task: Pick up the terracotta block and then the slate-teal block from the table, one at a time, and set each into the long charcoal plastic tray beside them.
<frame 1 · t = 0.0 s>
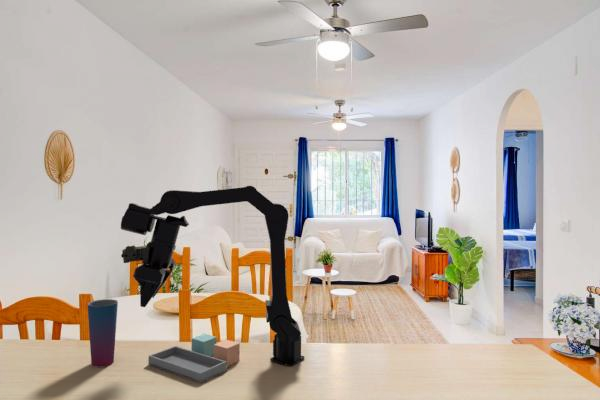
hand: (147, 301, 108), 15 cm above the table, tool pointing down, fingers open, 9 cm apart
teal block: (204, 354, 115), on the table
tray: (187, 367, 106), on the table
terracotta block: (226, 361, 111), on the table
cup: (102, 363, 108), on the table
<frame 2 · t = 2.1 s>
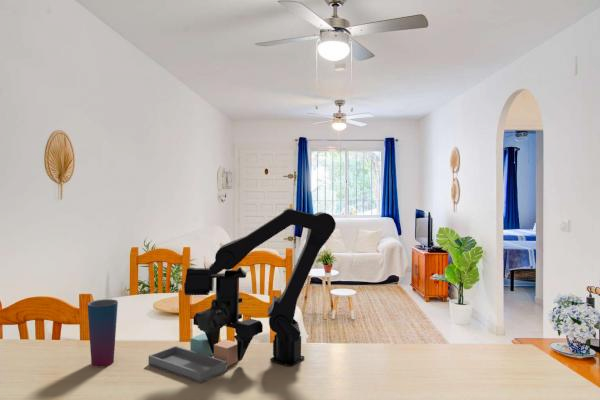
hand: (226, 356, 111), 1 cm above the table, tool pointing down, fingers open, 8 cm apart
nothing on the table moved.
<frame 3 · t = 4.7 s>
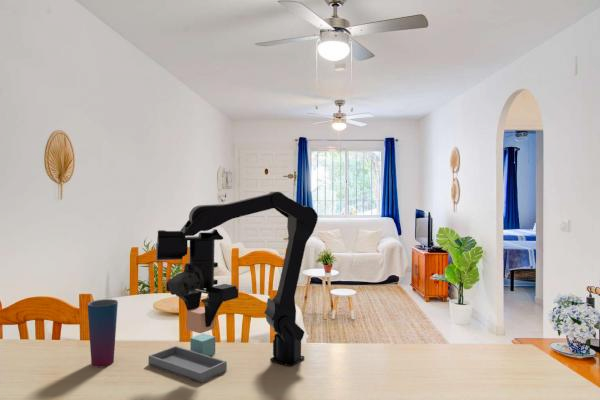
hand: (200, 324, 104), 11 cm above the table, tool pointing down, fingers closed on terracotta block, 4 cm apart
terracotta block: (200, 329, 104), point 10 cm above the table, touching gripper
everything else where it was.
when the fingers open (3 cm above the table, at t = 6.5 s): terracotta block drops 1 cm, resting on tray.
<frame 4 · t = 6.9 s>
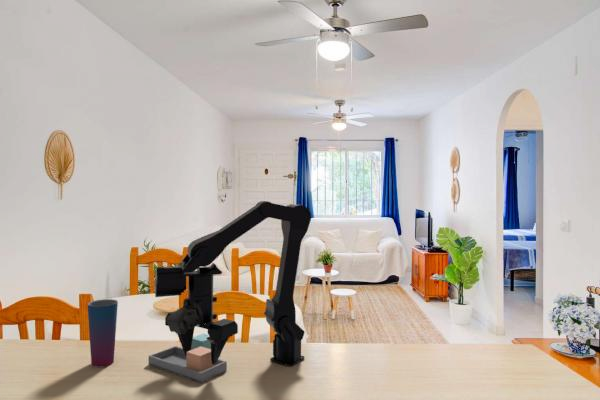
hand: (200, 359, 104), 3 cm above the table, tool pointing down, fingers open, 9 cm apart
terracotta block: (200, 370, 104), resting on tray
everything else where it was.
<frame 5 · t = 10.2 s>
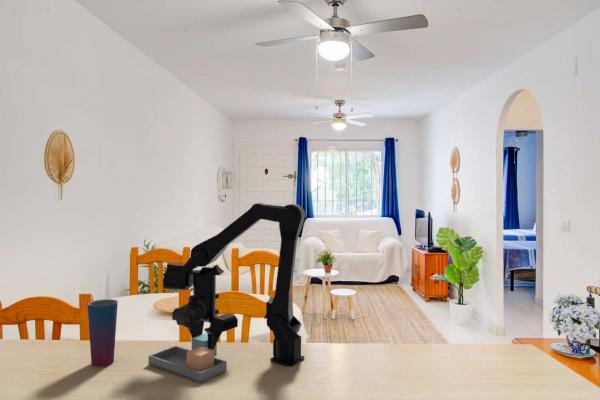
hand: (204, 350, 115), 1 cm above the table, tool pointing down, fingers closed on teal block, 4 cm apart
teal block: (204, 354, 115), on the table, touching gripper
everything else where it was.
when the fingers open (3 cm above the table, at t = 14.0 s): teal block drops 1 cm, resting on tray.
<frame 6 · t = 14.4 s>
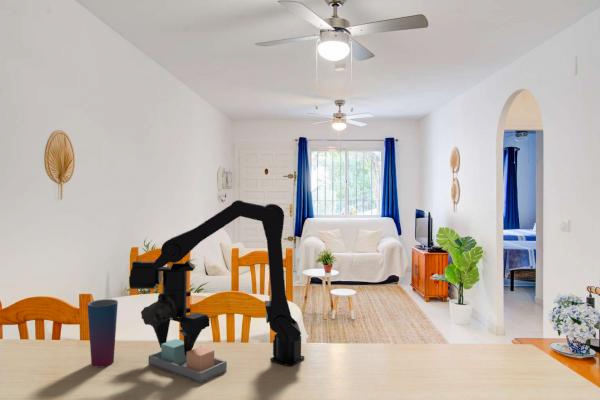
hand: (174, 351, 109), 3 cm above the table, tool pointing down, fingers open, 9 cm apart
teal block: (174, 361, 109), resting on tray
everything else where it was.
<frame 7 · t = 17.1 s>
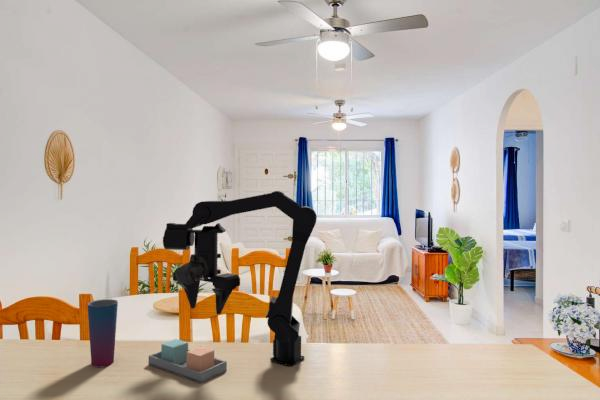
hand: (205, 311, 112), 12 cm above the table, tool pointing down, fingers open, 9 cm apart
nothing on the table moved.
at the end: terracotta block inside the target area on the tray (4.5 cm from its centre), point 0.5 cm above the tray's base; teal block inside the target area on the tray (4.5 cm from its centre), point 0.5 cm above the tray's base; the gripper is holding nothing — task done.
